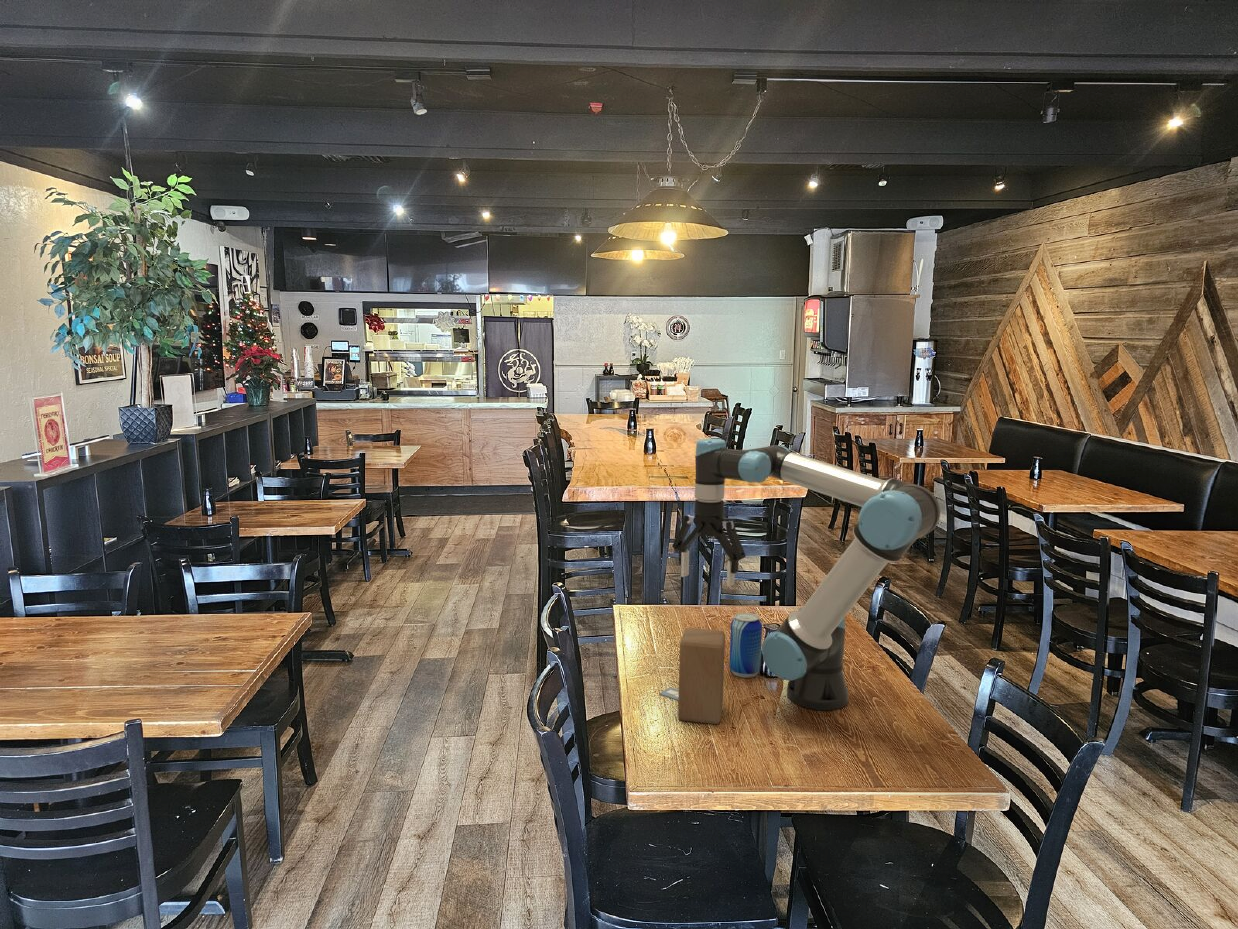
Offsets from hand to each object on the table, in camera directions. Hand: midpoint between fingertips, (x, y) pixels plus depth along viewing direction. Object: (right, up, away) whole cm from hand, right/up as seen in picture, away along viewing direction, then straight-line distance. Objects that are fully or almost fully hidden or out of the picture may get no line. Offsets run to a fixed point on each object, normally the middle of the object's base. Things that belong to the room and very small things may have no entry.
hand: (707, 580), depth 200 cm
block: (-3, -31, -13) cm, 33 cm away
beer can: (+12, -27, +12) cm, 32 cm away
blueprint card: (-8, -29, -3) cm, 30 cm away
